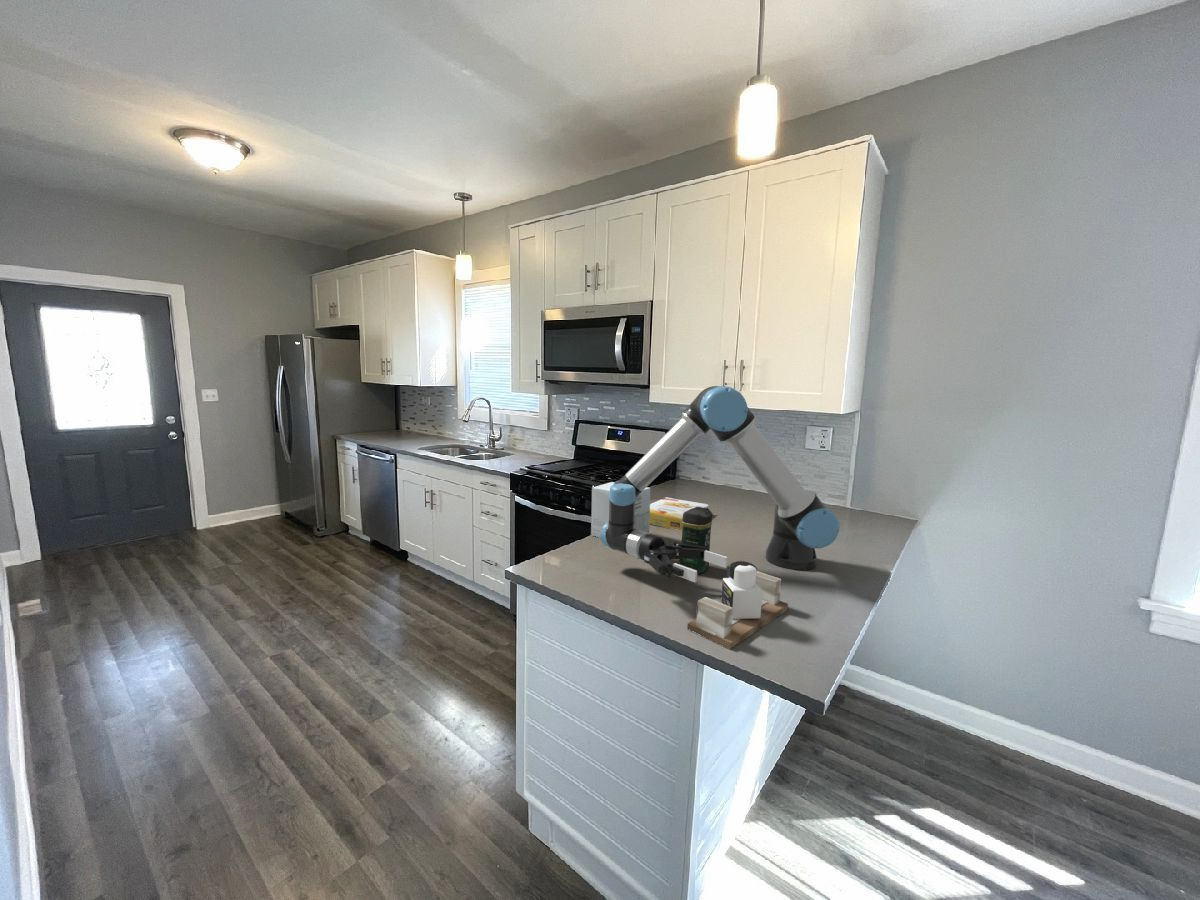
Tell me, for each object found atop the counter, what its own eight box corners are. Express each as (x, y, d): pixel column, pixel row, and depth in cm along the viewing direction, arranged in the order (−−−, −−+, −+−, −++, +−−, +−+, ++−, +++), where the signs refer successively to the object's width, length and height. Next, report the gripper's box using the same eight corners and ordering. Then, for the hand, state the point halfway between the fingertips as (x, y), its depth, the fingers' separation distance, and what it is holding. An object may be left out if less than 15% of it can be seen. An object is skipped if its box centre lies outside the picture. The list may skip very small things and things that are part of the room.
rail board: (747, 594, 128) (749, 567, 127) (787, 609, 120) (790, 580, 119) (687, 629, 110) (688, 598, 108) (730, 649, 102) (732, 616, 101)
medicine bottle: (720, 605, 118) (723, 558, 116) (748, 604, 119) (752, 558, 117) (730, 619, 111) (734, 570, 109) (760, 619, 112) (764, 569, 110)
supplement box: (650, 536, 174) (652, 487, 171) (631, 546, 163) (633, 494, 161) (610, 527, 184) (611, 480, 181) (589, 536, 173) (590, 487, 170)
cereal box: (636, 509, 190) (665, 495, 214) (635, 522, 191) (664, 507, 215) (684, 518, 180) (709, 503, 204) (683, 533, 181) (708, 515, 204)
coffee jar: (701, 577, 139) (704, 514, 136) (675, 570, 143) (678, 510, 141) (712, 566, 147) (716, 507, 144) (688, 560, 151) (691, 503, 149)
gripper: (672, 549, 144) (736, 570, 129) (614, 571, 126) (681, 598, 111) (674, 525, 142) (738, 543, 127) (615, 543, 125) (682, 567, 110)
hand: (712, 569), depth 119 cm, fingers open, 13 cm apart
